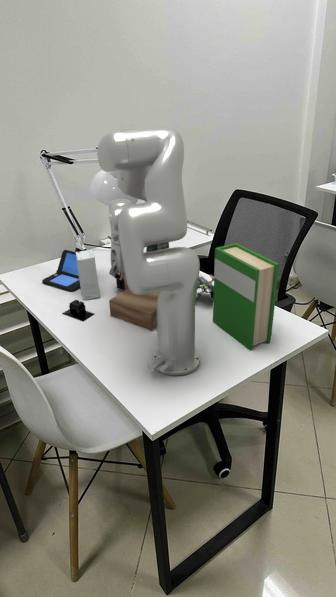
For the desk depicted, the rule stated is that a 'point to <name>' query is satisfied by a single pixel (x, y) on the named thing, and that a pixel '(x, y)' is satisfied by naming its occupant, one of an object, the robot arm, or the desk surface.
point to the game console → (65, 273)
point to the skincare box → (87, 274)
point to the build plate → (78, 311)
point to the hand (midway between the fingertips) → (126, 285)
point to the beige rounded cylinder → (124, 281)
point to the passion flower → (205, 286)
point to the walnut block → (135, 308)
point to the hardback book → (244, 294)
